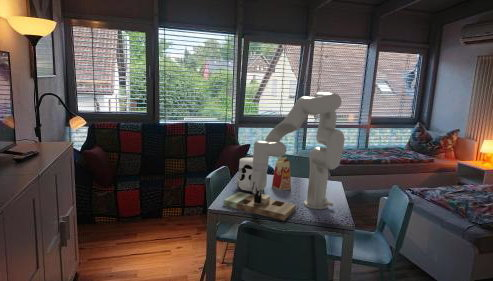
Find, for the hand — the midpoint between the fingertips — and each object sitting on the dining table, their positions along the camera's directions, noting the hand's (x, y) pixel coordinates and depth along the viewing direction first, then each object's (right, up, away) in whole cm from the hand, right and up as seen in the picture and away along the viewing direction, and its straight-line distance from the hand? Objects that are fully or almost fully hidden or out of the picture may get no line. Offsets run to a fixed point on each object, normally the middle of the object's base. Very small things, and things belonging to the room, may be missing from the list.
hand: (257, 202), depth 164 cm
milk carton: (+16, +1, +43) cm, 46 cm away
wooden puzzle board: (+1, -4, +6) cm, 7 cm away
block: (+2, -1, +4) cm, 5 cm away
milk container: (-3, +1, +34) cm, 34 cm away
